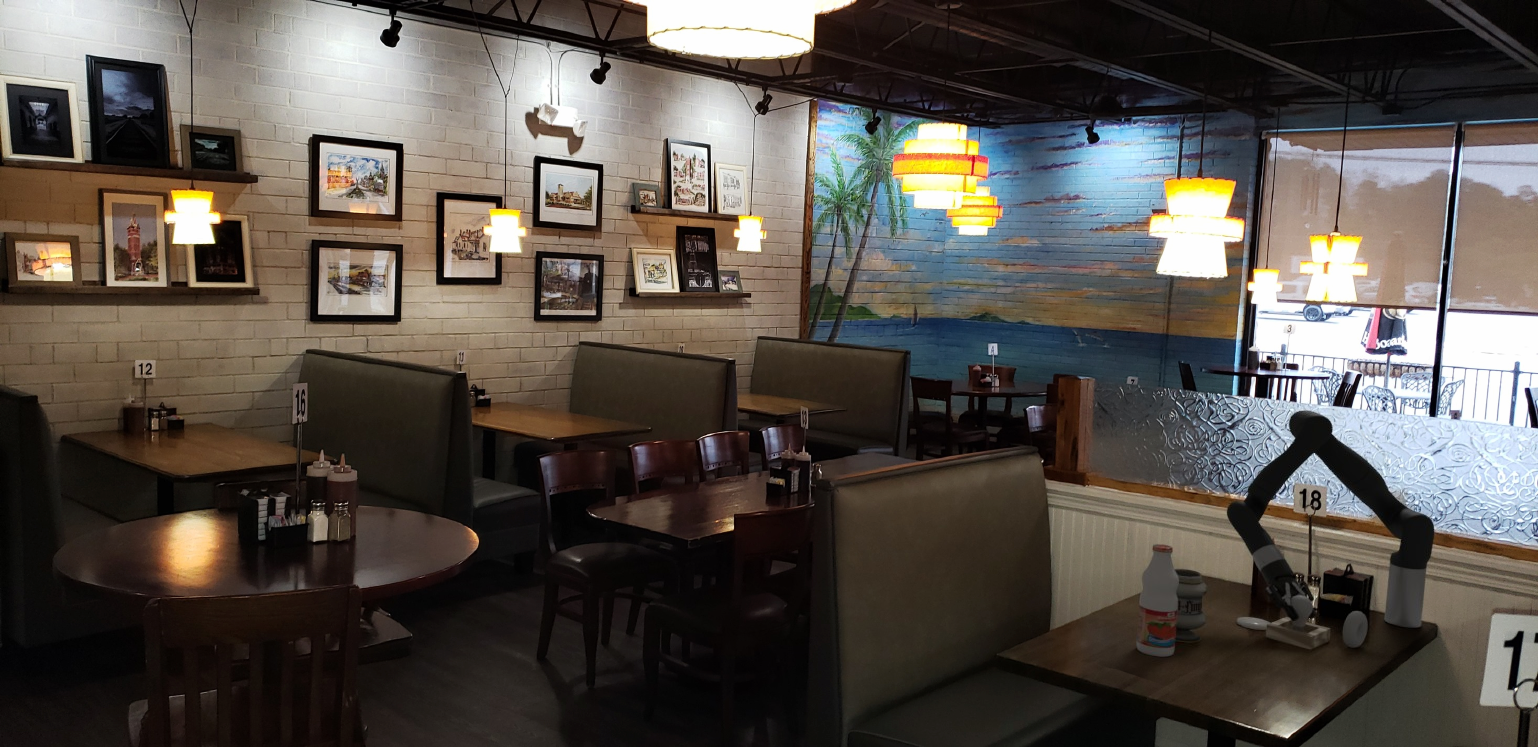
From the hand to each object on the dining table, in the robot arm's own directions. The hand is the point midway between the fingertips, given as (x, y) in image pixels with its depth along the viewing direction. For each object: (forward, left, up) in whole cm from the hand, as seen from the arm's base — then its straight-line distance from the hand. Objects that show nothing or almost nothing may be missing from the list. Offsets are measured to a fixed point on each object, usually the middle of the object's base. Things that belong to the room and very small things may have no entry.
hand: (1304, 618), depth 292 cm
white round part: (-2, -15, -6) cm, 16 cm away
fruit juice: (+43, -20, -6) cm, 47 cm away
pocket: (0, -2, -6) cm, 7 cm away
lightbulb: (-1, -2, -5) cm, 6 cm away
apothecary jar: (+26, -22, -6) cm, 34 cm away
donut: (-7, +11, -6) cm, 14 cm away
